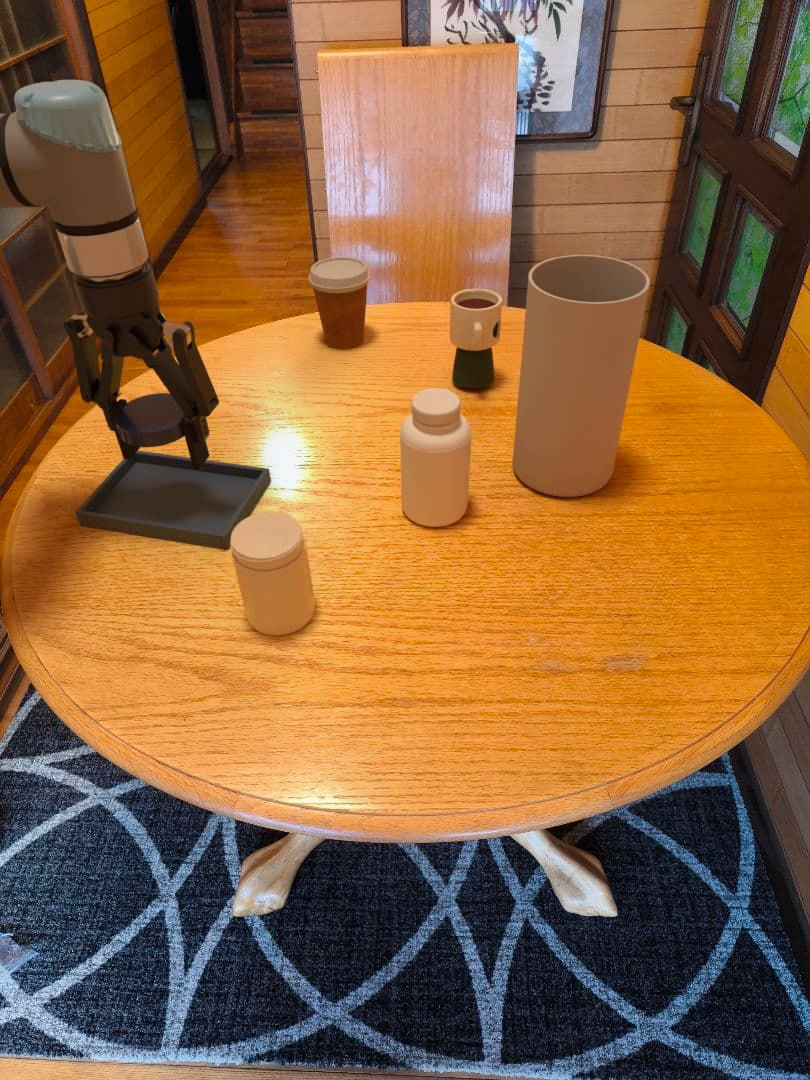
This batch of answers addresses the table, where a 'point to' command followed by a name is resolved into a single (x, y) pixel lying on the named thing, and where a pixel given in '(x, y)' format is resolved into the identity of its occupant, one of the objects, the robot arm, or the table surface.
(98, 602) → the table surface
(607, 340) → the cylinder vase
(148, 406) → the lid
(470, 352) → the character mug
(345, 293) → the disposable coffee cup
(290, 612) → the jar
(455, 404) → the pill bottle
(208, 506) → the tray
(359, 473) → the table surface
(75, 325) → the robot arm
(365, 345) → the table surface
